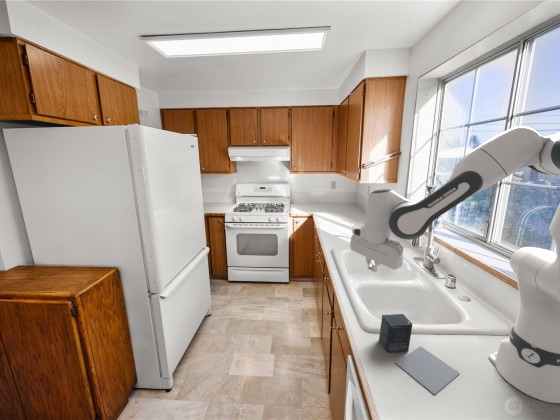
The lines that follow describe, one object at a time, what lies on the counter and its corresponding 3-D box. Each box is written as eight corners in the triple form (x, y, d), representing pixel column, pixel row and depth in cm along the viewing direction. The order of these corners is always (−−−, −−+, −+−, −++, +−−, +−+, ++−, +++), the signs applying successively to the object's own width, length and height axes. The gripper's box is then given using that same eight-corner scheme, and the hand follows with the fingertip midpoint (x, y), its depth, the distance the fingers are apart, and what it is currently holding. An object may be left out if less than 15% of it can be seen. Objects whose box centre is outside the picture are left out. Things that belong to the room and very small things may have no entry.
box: (399, 339, 87) (403, 313, 85) (408, 351, 82) (413, 324, 79) (378, 340, 86) (381, 314, 84) (386, 352, 81) (390, 325, 79)
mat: (420, 346, 84) (420, 346, 84) (459, 373, 74) (459, 372, 74) (395, 363, 77) (395, 362, 77) (434, 395, 67) (434, 394, 67)
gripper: (409, 242, 79) (403, 281, 82) (360, 226, 96) (357, 258, 99) (397, 245, 76) (391, 285, 79) (349, 228, 93) (345, 261, 96)
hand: (372, 270), depth 89 cm, fingers closed
